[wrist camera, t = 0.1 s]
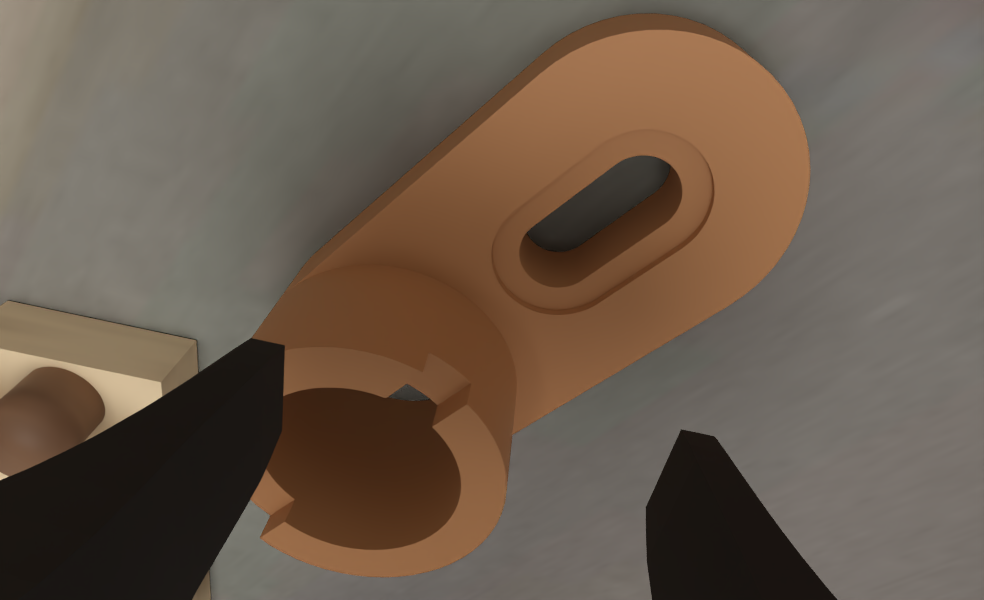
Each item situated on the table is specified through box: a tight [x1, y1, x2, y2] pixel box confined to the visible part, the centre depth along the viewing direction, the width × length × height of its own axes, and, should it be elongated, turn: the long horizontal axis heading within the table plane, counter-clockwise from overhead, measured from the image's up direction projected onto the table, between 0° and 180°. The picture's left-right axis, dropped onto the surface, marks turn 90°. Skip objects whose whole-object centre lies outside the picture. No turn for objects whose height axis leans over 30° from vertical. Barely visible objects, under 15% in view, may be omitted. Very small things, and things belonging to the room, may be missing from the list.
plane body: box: [0, 301, 211, 600], centre depth 28 cm, size 22×7×5 cm, turn 169°
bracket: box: [251, 14, 810, 577], centre depth 19 cm, size 18×8×7 cm, turn 131°
